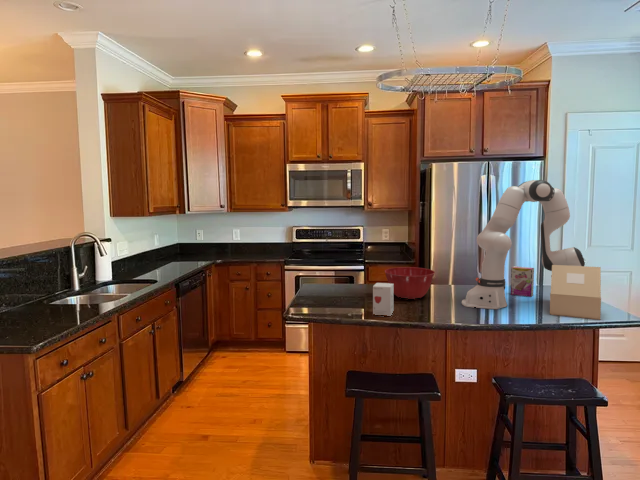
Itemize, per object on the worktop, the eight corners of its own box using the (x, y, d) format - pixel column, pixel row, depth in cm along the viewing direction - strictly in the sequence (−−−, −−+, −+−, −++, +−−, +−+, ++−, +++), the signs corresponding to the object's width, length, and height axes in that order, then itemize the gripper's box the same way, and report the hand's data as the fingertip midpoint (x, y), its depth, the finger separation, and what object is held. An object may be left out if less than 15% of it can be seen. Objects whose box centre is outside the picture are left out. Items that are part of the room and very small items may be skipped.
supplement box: (372, 315, 201) (372, 285, 200) (376, 311, 210) (376, 282, 208) (390, 317, 198) (390, 286, 197) (394, 312, 206) (393, 283, 205)
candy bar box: (510, 295, 237) (510, 267, 236) (512, 293, 241) (513, 265, 240) (531, 297, 230) (532, 268, 229) (533, 295, 234) (534, 267, 233)
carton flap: (552, 265, 200) (552, 264, 200) (600, 267, 190) (600, 267, 190) (550, 294, 195) (550, 293, 194) (600, 298, 185) (600, 297, 184)
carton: (551, 306, 209) (551, 287, 209) (598, 311, 199) (599, 291, 198) (549, 314, 196) (550, 293, 195) (600, 319, 185) (601, 298, 185)
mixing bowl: (445, 297, 236) (445, 270, 235) (412, 305, 219) (412, 277, 218) (407, 289, 259) (407, 265, 257) (374, 296, 242) (374, 270, 240)
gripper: (551, 269, 210) (550, 273, 198) (599, 271, 199) (601, 276, 187) (550, 281, 210) (550, 286, 198) (599, 284, 200) (601, 290, 188)
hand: (575, 281), depth 193 cm, fingers closed, pressing on carton flap
